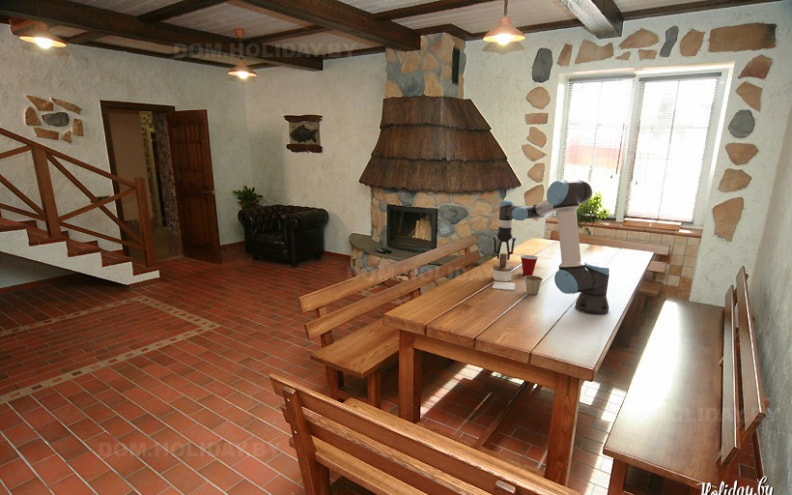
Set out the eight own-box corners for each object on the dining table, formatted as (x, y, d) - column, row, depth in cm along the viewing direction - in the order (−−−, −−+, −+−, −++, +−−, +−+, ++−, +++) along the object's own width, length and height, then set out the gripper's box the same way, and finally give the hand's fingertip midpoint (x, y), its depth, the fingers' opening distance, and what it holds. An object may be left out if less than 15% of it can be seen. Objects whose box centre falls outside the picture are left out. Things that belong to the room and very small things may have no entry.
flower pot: (544, 292, 230) (545, 278, 228) (536, 297, 224) (538, 282, 222) (528, 289, 236) (529, 274, 234) (520, 293, 230) (521, 278, 228)
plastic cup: (539, 273, 264) (540, 255, 262) (534, 278, 256) (535, 259, 253) (522, 270, 270) (523, 253, 267) (516, 275, 262) (518, 256, 259)
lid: (513, 266, 257) (514, 252, 254) (512, 272, 246) (513, 257, 243) (493, 265, 260) (494, 250, 258) (491, 270, 249) (492, 255, 247)
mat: (515, 284, 245) (515, 283, 245) (514, 290, 234) (514, 289, 234) (494, 282, 248) (494, 281, 248) (492, 288, 237) (492, 287, 237)
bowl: (511, 277, 258) (511, 266, 256) (510, 282, 248) (511, 271, 247) (494, 275, 261) (494, 265, 259) (492, 280, 251) (493, 270, 250)
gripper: (519, 226, 248) (517, 264, 253) (491, 224, 253) (489, 261, 258) (519, 228, 241) (516, 267, 246) (490, 227, 246) (488, 265, 251)
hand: (502, 264), depth 252 cm, fingers closed on lid, 4 cm apart
